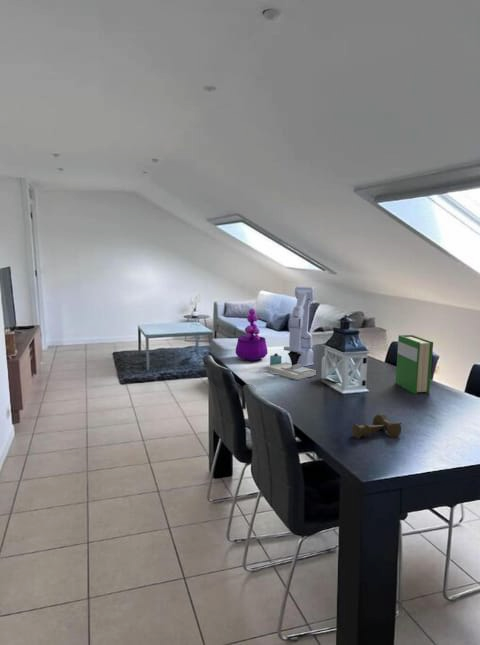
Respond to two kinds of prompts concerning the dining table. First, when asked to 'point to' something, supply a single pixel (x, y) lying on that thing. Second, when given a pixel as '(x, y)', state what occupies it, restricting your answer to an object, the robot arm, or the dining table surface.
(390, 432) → the kendama
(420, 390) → the hardback book
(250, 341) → the decorative plant
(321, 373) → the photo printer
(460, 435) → the dining table surface
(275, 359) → the plug
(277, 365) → the socket plate
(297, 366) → the shutter
